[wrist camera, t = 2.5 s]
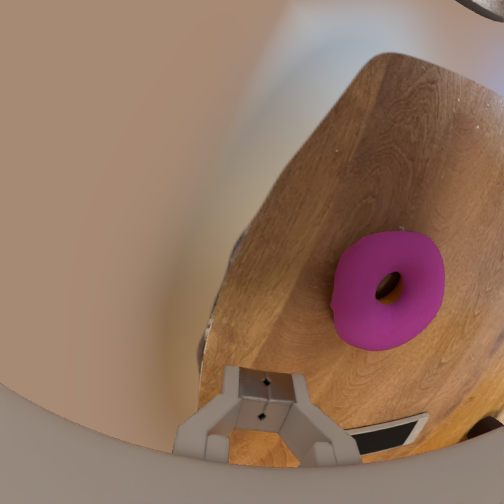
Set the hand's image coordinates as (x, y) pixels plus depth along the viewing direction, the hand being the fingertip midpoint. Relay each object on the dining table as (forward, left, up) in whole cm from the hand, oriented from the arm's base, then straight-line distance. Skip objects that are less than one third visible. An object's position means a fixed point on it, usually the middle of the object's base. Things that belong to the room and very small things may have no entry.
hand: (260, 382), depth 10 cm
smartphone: (+23, +22, -13) cm, 34 cm away
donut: (0, +11, -13) cm, 17 cm away
